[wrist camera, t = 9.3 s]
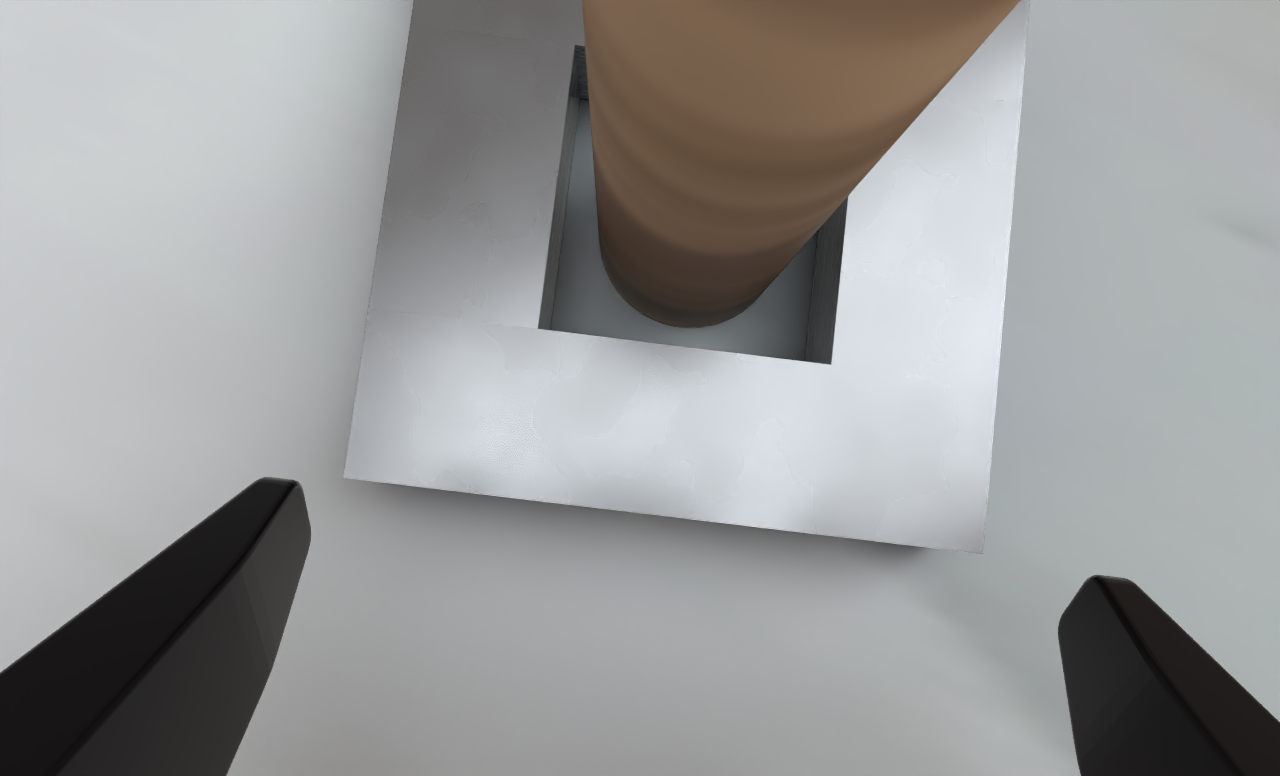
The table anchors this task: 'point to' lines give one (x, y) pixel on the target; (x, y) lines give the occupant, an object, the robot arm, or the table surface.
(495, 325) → the hole collar
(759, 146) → the tall pin
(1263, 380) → the table surface
